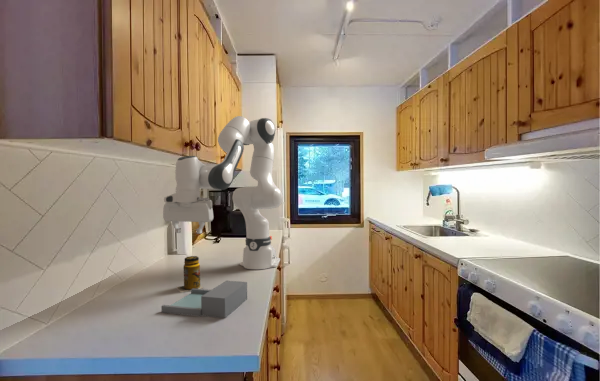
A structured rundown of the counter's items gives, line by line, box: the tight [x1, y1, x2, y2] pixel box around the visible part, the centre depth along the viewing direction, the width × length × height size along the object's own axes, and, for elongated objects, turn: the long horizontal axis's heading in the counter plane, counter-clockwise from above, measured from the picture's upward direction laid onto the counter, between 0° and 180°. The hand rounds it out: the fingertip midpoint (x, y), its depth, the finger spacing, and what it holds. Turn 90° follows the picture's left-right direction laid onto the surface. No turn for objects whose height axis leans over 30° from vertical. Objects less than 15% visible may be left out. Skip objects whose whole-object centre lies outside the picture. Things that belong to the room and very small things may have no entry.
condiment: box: [176, 255, 204, 293], centre depth 122 cm, size 7×8×12 cm
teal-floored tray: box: [160, 280, 248, 319], centre depth 105 cm, size 17×22×6 cm
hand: (188, 233), depth 122 cm, fingers open, 8 cm apart
